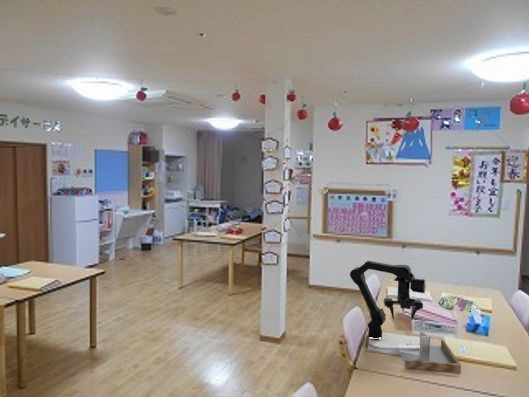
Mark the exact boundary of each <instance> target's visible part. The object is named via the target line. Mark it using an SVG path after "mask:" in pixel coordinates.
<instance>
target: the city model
mask: <svg viewBox="0 0 529 397" xmlns="http://www.w3.org/2000/svg"><path fill="white" fill-rule="evenodd" d="M439 303H440V305H441V306H442V307H443V308H445V309H446V310H449V311H458V312H465V313H470V312H469V311H470V308H471V306H472V305H474V306H476V307H477V308H478V306H479V305H478V304H477V303H476V302H474V301H473V300H471V299H469V298H468V297H464V296H459V295H447V296H442V297H440V298H439Z"/></svg>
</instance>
